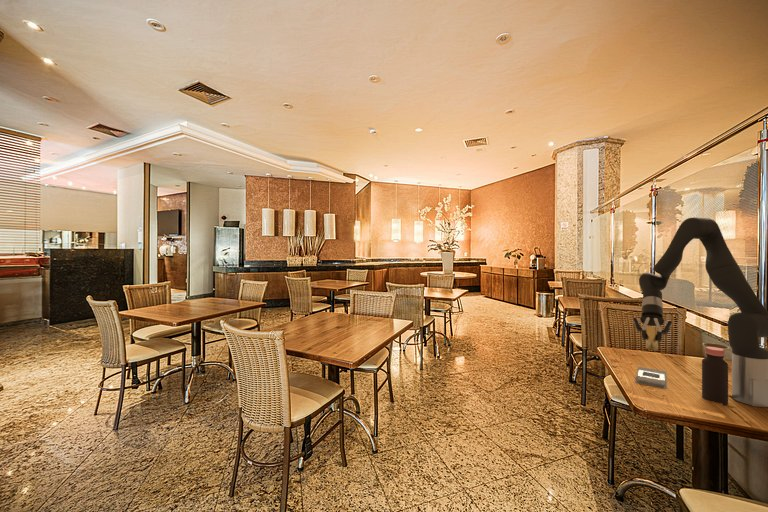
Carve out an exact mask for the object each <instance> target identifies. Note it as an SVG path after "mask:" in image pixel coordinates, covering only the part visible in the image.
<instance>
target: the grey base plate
mask: <svg viewBox="0 0 768 512" xmlns="http://www.w3.org/2000/svg"><path fill="white" fill-rule="evenodd" d="M639 370H643V371H648V372H654V373H659V374H664V377H665V387H663V386H658V385H653V384H648V383H643V382H638V371H639ZM667 382H668V381H667V371H665V370H661V369H660V370H659V369H653V368H649V367H642V366H638V367H637V372H636V377H635V382H634V383H635V384H640V385H645V386H650V387H655V388H660V389H663V390H668V387H667V386H668V385H667Z"/></svg>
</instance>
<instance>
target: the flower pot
mask: <svg viewBox="0 0 768 512" xmlns="http://www.w3.org/2000/svg"><path fill="white" fill-rule="evenodd" d="M702 346H703V349H704V350H705V347H717V348H721V349H724V357H723V360H724V361H725V362H726V359H727V355H728V352H729V349H730V346H727V345H724V344H720V343H714V342H713V343H712V342H711V343H710V342H703V343H702ZM704 354H705V357H707V355H706V353H704Z"/></svg>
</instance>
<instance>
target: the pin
mask: <svg viewBox="0 0 768 512" xmlns="http://www.w3.org/2000/svg"><path fill="white" fill-rule="evenodd" d="M657 333H658V326H655V325H646V340H645V348H646V349H647V350H653V351H657V350H659V346H658V345H659V344H658V343H659V342H657Z"/></svg>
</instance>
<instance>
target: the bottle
mask: <svg viewBox="0 0 768 512" xmlns="http://www.w3.org/2000/svg"><path fill="white" fill-rule="evenodd" d="M704 352H705V353H706V354H705V353H704V354H705V357H704V358H703V359H702V360H701V397H702V399H704V400H706V401H709V402H711V403H717V404H722V407H723V406H728V404H729V363H727V361H726V360H725V361H724V360H723V357H724V349H721V348H717V347H705V349H704ZM706 355H707V357H706Z"/></svg>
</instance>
